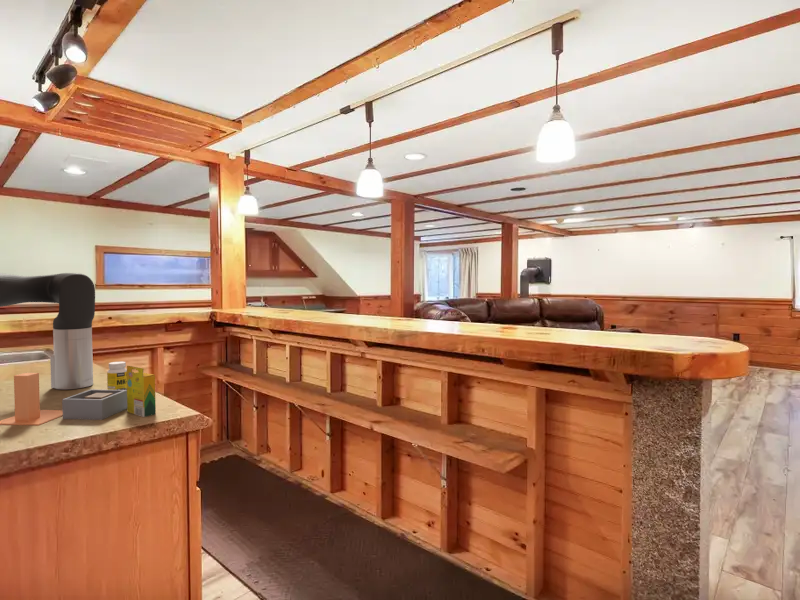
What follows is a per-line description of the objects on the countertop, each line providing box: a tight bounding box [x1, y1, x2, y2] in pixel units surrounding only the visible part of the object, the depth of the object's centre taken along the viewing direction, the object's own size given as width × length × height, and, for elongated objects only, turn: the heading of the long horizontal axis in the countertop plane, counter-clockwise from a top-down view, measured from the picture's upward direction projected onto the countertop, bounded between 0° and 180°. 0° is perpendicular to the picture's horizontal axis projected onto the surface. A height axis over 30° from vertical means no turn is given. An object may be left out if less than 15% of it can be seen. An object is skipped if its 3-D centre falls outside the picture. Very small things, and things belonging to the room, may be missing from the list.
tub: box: [61, 388, 127, 421], centre depth 105 cm, size 9×9×5 cm
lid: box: [0, 372, 63, 426], centre depth 101 cm, size 10×10×11 cm
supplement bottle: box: [106, 361, 127, 390], centre depth 126 cm, size 5×5×8 cm
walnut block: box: [85, 393, 113, 399], centre depth 106 cm, size 4×4×4 cm
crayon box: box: [126, 365, 157, 418], centre depth 106 cm, size 7×3×12 cm, turn 58°
